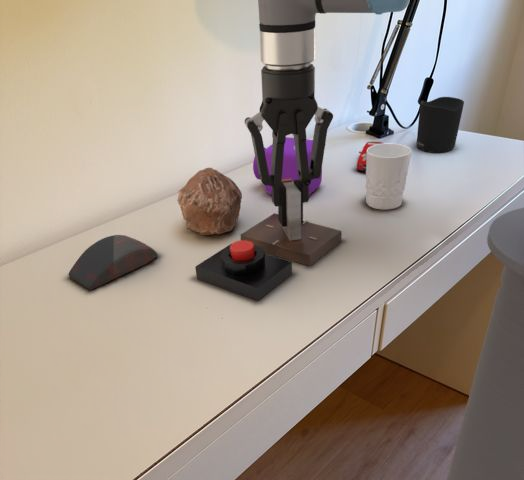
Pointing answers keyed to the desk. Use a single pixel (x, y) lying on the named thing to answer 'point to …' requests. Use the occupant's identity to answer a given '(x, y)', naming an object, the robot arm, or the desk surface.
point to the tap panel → (302, 250)
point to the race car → (364, 156)
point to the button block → (245, 272)
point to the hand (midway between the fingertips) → (290, 221)
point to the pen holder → (439, 124)
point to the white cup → (386, 175)
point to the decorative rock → (210, 202)
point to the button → (242, 250)
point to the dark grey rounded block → (110, 260)
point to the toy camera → (288, 164)
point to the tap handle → (292, 210)
